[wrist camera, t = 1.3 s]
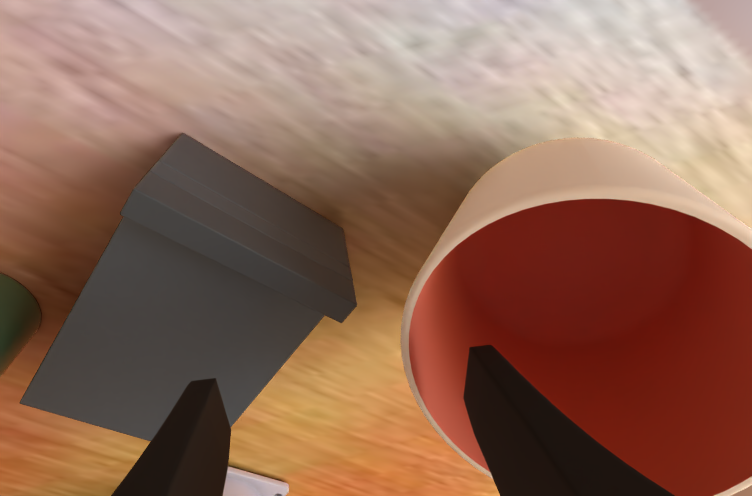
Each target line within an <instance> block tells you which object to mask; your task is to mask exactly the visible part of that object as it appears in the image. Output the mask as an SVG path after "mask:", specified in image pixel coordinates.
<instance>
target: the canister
mask: <svg viewBox="0 0 752 496" xmlns="http://www.w3.org/2000/svg"><path fill="white" fill-rule="evenodd" d="M40 322H41V312H40V308H39V305H38V303H37V301H36V300H35V298H34V297H33V295H32V294H31V293H30V292H29V291H28V290H27V289H26V288H25V287H24V286H22V285H21V284H20V283H18V282H17V281H15V280H14V279H12V278H10V277H8V276H6V275H4V274H1V273H0V377H1V376H2V374H3V373H4V372H5V371H6V369H7V368H8V367H9V365H10V364H11V363H12V362H13V360H14V359H15V358H16V357H17V355H18V354H19V353H20V352H21V350H22V349H23V348H24V346H25V345H26V344H27V343H28V341H29V340H30V339H31V338H32V336H33V335H34V334H35V333H36V331H37V330H38V328H39V325H40Z"/></svg>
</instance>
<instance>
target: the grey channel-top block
mask: <svg viewBox="0 0 752 496" xmlns="http://www.w3.org/2000/svg"><path fill="white" fill-rule="evenodd" d="M120 215H122V216H123V218H122V220H121V222H120V224H119V225H118V227H117V229H116V231H115V232H114V234H113V236H112V238H111V240H110V241H109V243H108V245H107V247H106V249H105V250H104V252H103V254H102V256H101V258H100V259H99V261H98V263H97V265H96V266H95V268H94V270H93V272H92V274H91V275H90V277H89V279H88V281H87V283H86V284H85V286H84V288H83V290H82V292H81V293H80V295H79V297H78V299H77V301H76V302H75V304H74V306H73V308H72V309H71V311H70V313H69V315H68V317H67V318H66V320H65V322H64V324H63V326H62V327H61V329H60V331H59V333H58V335H57V336H56V338H55V340H54V342H53V343H52V345H51V347H50V349H49V351H48V352H47V354H46V356H45V358H44V360H43V361H42V363H41V365H40V367H39V369H38V370H37V372H36V374H35V376H34V377H33V379H32V381H31V383H30V385H29V386H28V388H27V390H26V392H25V394H24V395H23V397H22V399H21V401H20V404H23V405H27V406H30V407H33V408H37V409H40V410H44V411H47V412H51V413H54V414H58V415H61V416H65V417H68V418H72V419H75V420H79V421H82V422H86V423H89V424H92V425H96V426H99V427H103V428H106V429H110V430H113V431H117V432H120V433H124V434H127V435H131V436H134V437H138V438H141V439H145V440H148V441H152V439H153V438H154V436H155V435H156V433H157V432H158V430H159V429H160V427H161V426H162V424H163V423H164V421H165V420H166V418H167V417H168V415H169V414H170V412H171V411H172V409H173V407H174V406H175V404H176V403H177V401H178V400H179V398H180V396H181V395H182V393H183V392H184V390H185V388H186V387H187V385H188V384H189V383H190V382H191V381H195V380H203V379H211V378H216V380H217V384H218V387H219V391H220V394H221V397H222V401H223V404H224V408H225V411H226V414H227V418H228V421H229V424H230V427H231V426H232V425H233V424H234V423H235V422H236V420H237V419H238V418H239V417H240V416H241V414H242V413H243V412H244V411H245V410H246V408H247V407H248V406H249V405H250V404H251V402H252V401H253V400H254V399H255V398H256V397H257V395H258V394H259V393H260V392H261V391H262V389H263V388H264V387H265V386H266V385H267V383H268V382H269V381H270V380H271V379H272V377H273V376H274V375H275V374H276V373H277V372H278V370H279V369H280V368H281V367H282V366H283V364H284V363H285V362H286V361H287V360H288V358H289V357H290V356H291V355H292V354H293V352H294V351H295V350H296V349H297V348H298V347H299V345H300V344H301V343H302V342H303V341H304V339H305V338H306V337H307V336H308V335H309V333H310V332H311V331H312V330H313V329H314V327H315V326H316V325H317V324H318V323H319V321H320V320H321V319H322V318H323V317H324V316H325V315H326V316H328V317H330V318H332V319H334V320H336V321H338V322H340V323H342V322H343V321H344V320H345V319H346V318H347V316H348V315H349V314H350V313H351V312H352V311H353V309H354V308H355V307H356V306H357V302H356V296H355V290H354V285H353V279H352V274H351V269H350V264H349V259H348V253H347V248H346V242H345V237H344V231H343V229H342V228H341V227H339V226H337V225H336V224H334V223H332V222H331V221H329V220H327V219H326V218H324V217H322V216H321V215H319V214H317V213H316V212H314V211H312V210H311V209H309V208H307V207H306V206H304V205H302V204H301V203H299V202H297V201H296V200H294V199H293V198H291V197H289V196H288V195H286V194H284V193H283V192H281V191H279V190H278V189H276V188H274V187H273V186H271V185H269V184H268V183H266V182H264V181H263V180H261V179H259V178H258V177H256V176H254V175H253V174H251V173H249V172H248V171H246V170H244V169H243V168H241V167H239V166H238V165H236V164H234V163H233V162H231V161H229V160H228V159H226V158H224V157H223V156H221V155H219V154H218V153H216V152H214V151H213V150H211V149H209V148H208V147H206V146H204V145H203V144H201V143H199V142H198V141H196V140H194V139H193V138H191V137H190V136H188V135H186V134H185V133H182V134H181V135H180V136H179V137H178V138H177V139H176V141H175V142H174V143H173V144H172V145H171V146H170V147H169V149H168V150H167V151H166V152H165V153H164V154H163V155H162V157H161V158H160V159H159V160H158V161H157V162H156V163H155V164H154V166H153V167H152V168H151V169H150V170H149V172H148V173H147V174H146V175H145V176H144V177H143V178H142V179H141V181H140V182H139V183H138V184H137V185H136V186H135V187H134V189H133V190H132V192H131V194H130V196H129V197H128V199H127V201H126V203H125V205H124V206H123V208H122V210H121V212H120Z"/></svg>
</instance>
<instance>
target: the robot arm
mask: <svg viewBox="0 0 752 496" xmlns="http://www.w3.org/2000/svg"><path fill="white" fill-rule="evenodd" d="M463 399H464V402H465V406H466V409H467V413H468V416H469V419H470V423H471V426H472V429H473V432H474V435H475V437H476V440H477V442H478V445H479V447H480V449H481V452H482V454H483V456H484V459H485V461H486V463H487V466H488V468H489V470H490V473H491V475H492V477H493V479H494V482H495V484H496V486H497V489H498V491H499V493H500V496H675V495H673V494H672V493H670V492H669V491H667V490H665V489H664V488H662V487H661V486H659V485H658V484H656V483H655V482H653V481H651V480H650V479H648V478H647V477H645V476H644V475H642V474H641V473H639V472H638V471H637V470H635V469H634V468H632V467H631V466H629V465H628V464H626V463H625V462H624V461H622V460H621V459H620V458H618V457H617V456H616V455H614V454H613V453H612V452H610V451H609V450H607V449H606V448H605V447H603V446H602V445H601V444H600V443H598V442H597V441H596V440H595V439H593V438H592V437H591V436H590V435H588V434H587V433H586V432H585V431H583V430H582V429H581V428H580V427H579V426H577V425H576V424H575V423H574V422H573V421H571V420H570V419H569V418H568V417H567V416H566V415H564V414H563V413H562V412H561V411H560V410H559V409H558V408H557V407H555V406H554V405H553V404H552V403H551V402H550V401H549V400H548V399H547V398H546V397H545V396H543V395H542V394H541V393H540V392H539V391H538V390H537V389H536V388H535V387H534V386H533V385H532V384H531V383H530V382H529V381H528V380H526V379H525V378H524V377H523V376H522V375H521V374H520V373H519V372H518V371H517V370H516V369H515V368H514V367H513V366H512V365H511V364H510V363H509V362H508V361H507V360H506V359H505V358H504V357H503V356H502V355H501V354H500V353H499V352H498V351H497V350H496V349H495V348H494V347H493V346H492V345H483V346H475V347H470V348H469V356H468V364H467V372H466V380H465V388H464V396H463ZM230 436H231V428H230V424H229V421H228V418H227V414H226V411H225V408H224V404H223V401H222V397H221V394H220V391H219V387H218V384H217V380H216V378H211V379H203V380H195V381H191V382H190V383H189V384H188V385H187V387H186V388H185V390H184V392H183V393H182V395H181V396H180V398H179V400H178V401H177V403H176V404H175V406H174V407H173V409H172V411H171V412H170V414H169V415H168V417H167V418H166V420H165V421H164V423H163V424H162V426H161V427H160V429H159V430H158V432H157V433H156V435H155V436H154V438H153V439H152V441H151V442H150V443H149V445H148V446H147V448H146V449H145V451H144V452H143V454H142V455H141V456H140V458H139V459H138V461H137V462H136V464H135V465H134V466H133V468H132V469H131V470H130V472H129V473H128V474H127V476H126V477H125V478H124V480H123V481H122V482H121V484H120V485H119V486H118V487H117V489H116V490H115V491H114V493H113V494H112V495H111V496H285V495H286V494H287V493H288V492H289V485H288V484H287V483H285V482H282V481H278V480H275V479H271V478H268V477H264V476H261V475H257V474H254V473H250V472H247V471H243V470H240V469H236V468H233V467H229V466H228V460H229V449H230Z"/></svg>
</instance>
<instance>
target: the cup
mask: <svg viewBox="0 0 752 496" xmlns="http://www.w3.org/2000/svg"><path fill="white" fill-rule="evenodd" d="M483 345H492V346H493V347H494V348H495V349H496V350H497V351H498V352H499V353H500V354H501V355H502V356H503V357H504V358H505V359H506V360H507V361H508V362H509V363H510V364H511V365H512V366H513V367H514V368H515V369H516V370H517V371H518V372H519V373H520V374H521V375H522V376H523V377H524V378H525V379H526V380H528V381H529V382H530V383H531V384H532V385H533V386H534V387H535V388H536V389H537V390H538V391H539V392H540V393H541V394H542V395H543V396H545V397H546V398H547V399H548V400H549V401H550V402H551V403H552V404H553V405H554V406H555V407H557V408H558V409H559V410H560V411H561V412H562V413H563V414H564V415H566V416H567V417H568V418H569V419H570V420H571V421H573V422H574V423H575V424H576V425H577V426H579V427H580V428H581V429H582V430H583V431H585V432H586V433H587V434H588V435H590V436H591V437H592V438H593V439H595V440H596V441H597V442H598V443H600V444H601V445H602V446H603V447H605V448H606V449H607V450H609V451H610V452H612V453H613V454H614V455H616V456H617V457H618V458H620V459H621V460H622V461H624V462H625V463H626V464H628V465H629V466H631V467H632V468H634V469H635V470H637V471H638V472H639V473H641V474H642V475H644V476H645V477H647V478H648V479H650V480H651V481H653V482H655V483H656V484H658V485H659V486H661V487H662V488H664V489H665V490H667V491H669V492H670V493H672V494H673V495H675V496H731V495H733V494H735V493H737V492H739V491H741V490H743V489H745V488H747V487H749V486H750V485H752V229H751V228H750V227H748V226H747V225H746V224H744V223H743V222H741V221H740V220H739V219H737V218H736V217H735V216H733V215H732V214H730V213H729V212H728V211H726V210H725V209H723V208H722V207H721V206H719V205H718V204H716V203H715V202H714V201H712V200H711V199H709V198H708V197H707V196H705V195H704V194H703V193H701V192H700V191H698V190H697V189H696V188H694V187H693V186H691V185H690V184H689V183H687V182H686V181H684V180H683V179H682V178H680V177H679V176H677V175H676V174H675V173H673V172H672V171H671V170H669V169H668V168H666V167H665V166H664V165H662V164H661V163H659V162H658V161H657V160H655V159H654V158H652V157H650V156H648V155H647V154H645V153H643V152H641V151H639V150H637V149H634V148H632V147H629V146H626V145H623V144H620V143H616V142H612V141H608V140H601V139H594V138H564V139H557V140H551V141H547V142H542V143H539V144H536V145H532V146H529V147H527V148H524V149H522V150H520V151H518V152H516V153H514V154H512V155H510V156H508V157H506V158H505V159H503V160H502V161H500V162H499V163H497V164H496V165H495V166H493V167H492V168H491V169H489V170H488V171H487V172H486V173H485V174H484V175H483V176H482V177H481V178H480V179H479V180H478V181H477V182H476V183H475V185H474V186H473V187H472V188H471V190H470V191H469V193H468V194H467V196H466V197H465V199H464V200H463V202H462V203H461V205H460V207H459V208H458V210H457V212H456V213H455V215H454V216H453V218H452V220H451V221H450V223H449V224H448V226H447V228H446V229H445V231H444V233H443V234H442V236H441V237H440V239H439V241H438V242H437V244H436V245H435V247H434V249H433V250H432V252H431V253H430V255H429V257H428V258H427V260H426V261H425V263H424V265H423V266H422V268H421V270H420V271H419V273H418V274H417V276H416V278H415V280H414V282H413V284H412V287H411V289H410V291H409V294H408V297H407V300H406V303H405V307H404V311H403V317H402V324H401V352H402V360H403V364H404V369H405V373H406V376H407V379H408V382H409V386H410V388H411V390H412V393H413V395H414V397H415V399H416V401H417V403H418V405H419V407H420V408H421V410H422V412H423V413H424V415H425V417H426V418H427V420H428V421H429V422H430V424H431V425H432V426H433V428H434V429H435V430H436V432H437V433H438V434H439V435H440V436H441V437H442V438H443V439H444V440H445V442H446V443H447V444H448V445H449V446H450V447H451V448H452V449H454V450H455V451H456V452H457V453H458V454H459V455H460V456H461V457H462V458H464V459H465V460H466V461H468V462H469V463H470V464H471V465H473V466H474V467H475V468H477V469H478V470H480V471H481V472H483V473H484V474H486V475H487V476H489V477H490V478H492V479H493V477H492V475H491V473H490V470H489V468H488V466H487V463H486V461H485V459H484V456H483V454H482V452H481V449H480V447H479V445H478V442H477V440H476V437H475V435H474V432H473V429H472V426H471V423H470V419H469V416H468V413H467V409H466V406H465V402H464V399H463V396H464V388H465V380H466V372H467V364H468V356H469V348H470V347H475V346H483Z"/></svg>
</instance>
